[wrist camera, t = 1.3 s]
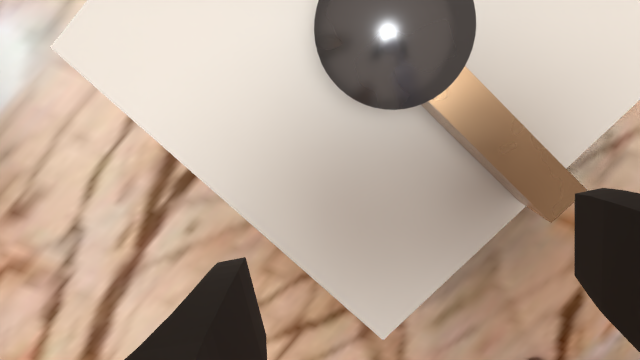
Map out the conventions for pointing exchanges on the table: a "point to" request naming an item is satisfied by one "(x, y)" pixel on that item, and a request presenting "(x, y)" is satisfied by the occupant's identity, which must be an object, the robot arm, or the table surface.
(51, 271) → the table surface
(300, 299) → the table surface
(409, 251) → the post base
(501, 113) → the grey rounded handled piece
